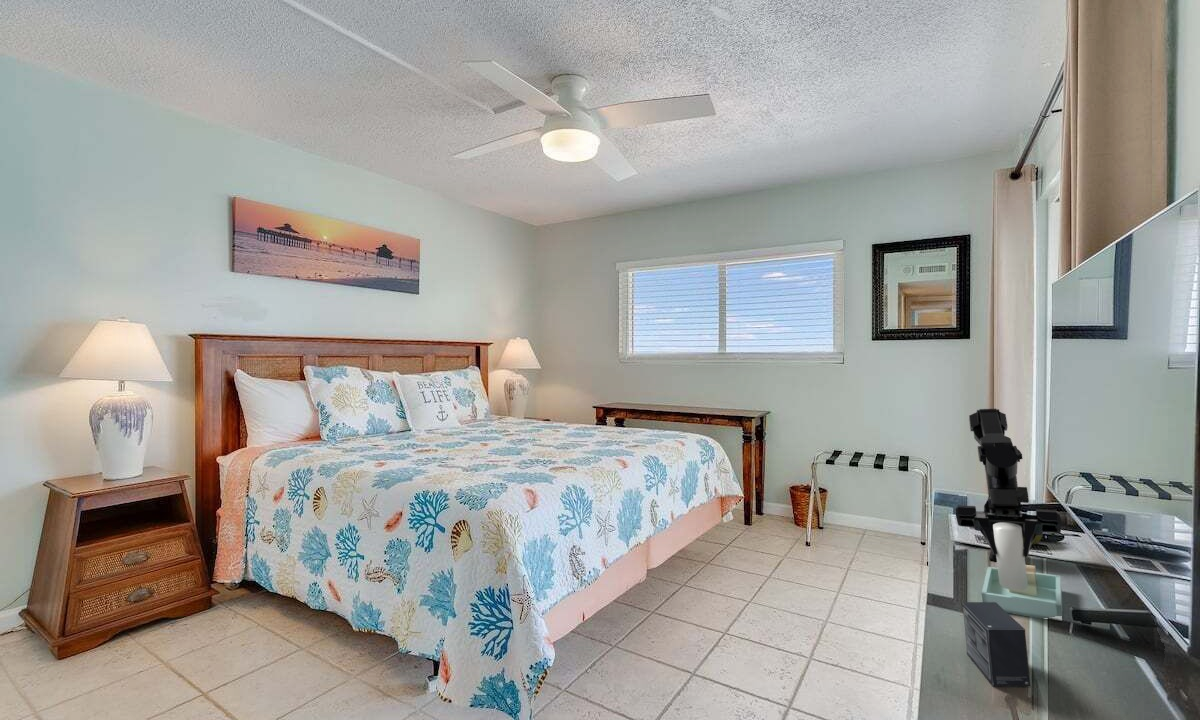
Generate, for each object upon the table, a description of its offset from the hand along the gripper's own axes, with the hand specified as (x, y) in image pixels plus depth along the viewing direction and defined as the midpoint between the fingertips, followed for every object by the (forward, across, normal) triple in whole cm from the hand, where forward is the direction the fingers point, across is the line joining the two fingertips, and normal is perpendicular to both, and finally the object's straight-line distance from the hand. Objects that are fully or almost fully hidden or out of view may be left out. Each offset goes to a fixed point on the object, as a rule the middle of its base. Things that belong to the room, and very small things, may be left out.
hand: (1010, 555), depth 119 cm
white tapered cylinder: (+4, 0, +6) cm, 7 cm away
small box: (+26, -4, -8) cm, 27 cm away
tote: (+4, +2, +14) cm, 15 cm away
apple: (-21, +4, +41) cm, 46 cm away
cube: (+1, +2, +17) cm, 17 cm away
